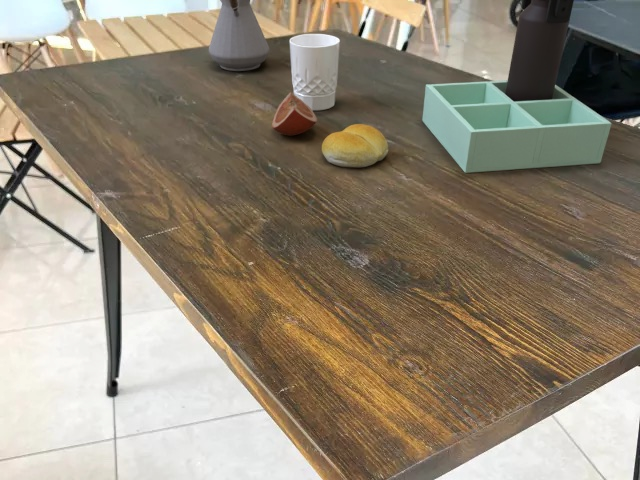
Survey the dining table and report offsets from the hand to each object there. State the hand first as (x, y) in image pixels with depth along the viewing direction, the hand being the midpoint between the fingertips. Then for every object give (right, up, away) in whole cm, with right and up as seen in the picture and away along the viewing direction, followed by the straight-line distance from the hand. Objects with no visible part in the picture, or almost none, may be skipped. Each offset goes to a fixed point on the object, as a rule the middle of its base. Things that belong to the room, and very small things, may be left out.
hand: (544, 14), depth 89 cm
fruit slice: (-35, -14, +8) cm, 38 cm away
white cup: (-32, -7, +18) cm, 37 cm away
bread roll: (-26, -20, +1) cm, 33 cm away
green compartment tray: (-4, -16, +5) cm, 17 cm away
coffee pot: (-46, +4, +31) cm, 56 cm away
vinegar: (0, -12, +9) cm, 15 cm away
